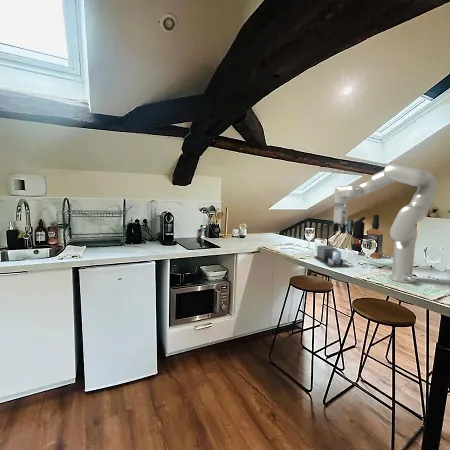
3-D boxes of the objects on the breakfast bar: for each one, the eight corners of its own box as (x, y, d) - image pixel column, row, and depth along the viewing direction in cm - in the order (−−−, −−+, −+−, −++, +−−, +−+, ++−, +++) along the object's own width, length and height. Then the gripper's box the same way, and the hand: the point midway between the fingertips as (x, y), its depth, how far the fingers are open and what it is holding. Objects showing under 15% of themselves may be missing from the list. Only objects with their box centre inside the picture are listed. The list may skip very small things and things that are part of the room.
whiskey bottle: (369, 254, 216) (371, 214, 212) (382, 256, 209) (386, 214, 205) (363, 256, 209) (366, 214, 205) (377, 259, 202) (381, 215, 198)
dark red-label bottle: (367, 255, 213) (370, 216, 209) (357, 256, 210) (360, 217, 207) (354, 251, 226) (356, 215, 222) (345, 252, 223) (347, 215, 220)
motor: (348, 267, 178) (348, 253, 177) (329, 267, 177) (330, 253, 176) (328, 257, 206) (329, 244, 205) (312, 257, 206) (313, 244, 205)
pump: (341, 264, 179) (342, 251, 178) (334, 264, 178) (335, 251, 177) (338, 262, 184) (338, 249, 183) (330, 262, 183) (331, 249, 182)
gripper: (353, 206, 168) (351, 234, 170) (339, 205, 185) (338, 230, 187) (341, 206, 168) (340, 234, 169) (328, 205, 185) (327, 230, 187)
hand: (339, 232), depth 178 cm, fingers open, 9 cm apart
